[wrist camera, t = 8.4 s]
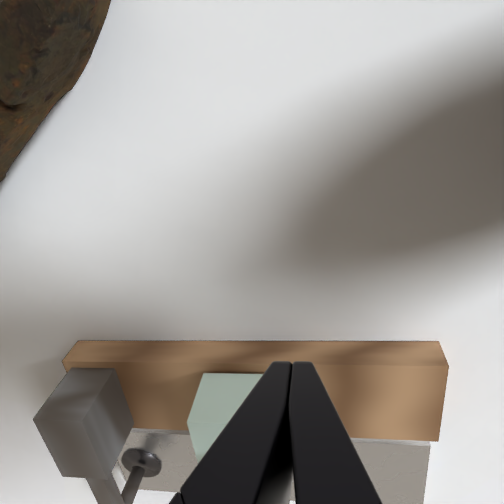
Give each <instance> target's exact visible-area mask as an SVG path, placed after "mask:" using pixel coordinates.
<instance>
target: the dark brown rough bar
mask: <svg viewBox="0 0 504 504" xmlns="http://www.w3.org/2000/svg"><path fill="white" fill-rule="evenodd" d="M110 2H111V0H0V182H1V181H2V180H3V179H4V178H5V176H6V172H7V171H8V169H9V168H10V166H11V164H12V163H13V162H14V160H15V159H16V157H17V156H18V155H19V153H20V152H21V150H22V149H23V147H24V146H25V145H26V143H27V142H28V141H29V139H30V138H31V137H32V135H33V134H34V132H35V131H36V129H37V127H38V126H39V125H40V123H41V122H42V121H43V120H44V118H45V117H46V116H47V114H48V113H49V111H50V110H51V108H52V107H53V106H54V105H55V103H56V102H57V101H58V100H59V99H60V98H61V97H62V96H63V95H64V94H65V93H66V92H68V91H69V90H71V89H72V88H73V87H74V85H75V84H76V82H77V80H78V79H79V77H80V75H81V74H82V72H83V70H84V68H85V66H86V64H87V62H88V61H89V59H90V56H91V54H92V51H93V49H94V46H95V44H96V42H97V39H98V37H99V34H100V31H101V29H102V26H103V24H104V21H105V18H106V15H107V12H108V9H109V5H110Z"/></svg>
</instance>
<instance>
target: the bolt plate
mask: <svg viewBox="0 0 504 504" xmlns="http://www.w3.org/2000/svg"><path fill="white" fill-rule="evenodd" d="M351 441H352V443H353V445H354V447H355V449H356V451H357V453H358V455H359V457H360V459H361V461H362V463H363V465H364V467H365V469H366V471H367V473H368V475H369V477H370V479H371V481H372V483H373V485H374V487H375V489H376V491H377V493H378V495H379V497H380V499H381V501H382V503H383V504H423V501H424V493H425V485H426V477H427V470H428V462H429V454H430V442H429V441H415V440H392V439H369V438H351ZM117 460H118V462H119V465H120V467H121V469H122V472H123V474H124V477H125V479H126V482H127V480H128V477H129V475H130V473H131V470H132V468H133V467H134V466H141V467H142V468H144V470H145V473H144V476H143V478H142V481H141V483H140V486H139V488H138V489H142V490H156V491H169V492H180V488H181V486H182V485H183V484H184V482H185V481H186V480H187V478H188V477H189V475H190V474H191V473H192V471H193V470H194V469H195V467H196V466H197V464H198V462H197V458H196V455H195V451H194V447H193V444H192V440H191V436H190V433H189V431H187V430H164V429H141V428H132V430H131V432H130V434H129V436H128V438H127V440H126V442H125V444H124V446H123V449H122V451H121V453H120V455H119V457H118V459H117ZM290 500H293V501H295V490H294V479H293V480H292V488H291V495H290Z"/></svg>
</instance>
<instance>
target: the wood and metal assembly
mask: <svg viewBox="0 0 504 504" xmlns="http://www.w3.org/2000/svg"><path fill="white" fill-rule="evenodd" d="M273 361H290V362H291V363H292V364H293V362H295V361H310V362H312V363H313V364H314V366H315V368H316V370H317V372H318V374H319V376H320V378H321V380H322V382H323V384H324V386H325V388H326V390H327V392H328V394H329V396H330V398H331V400H332V402H333V404H334V406H335V408H336V410H337V412H338V414H339V416H340V418H341V420H342V422H343V424H344V426H345V428H346V430H347V432H348V434H349V436H350V438H369V439H392V440H415V441H438V440H439V433H440V426H441V419H442V412H443V404H444V397H445V390H446V383H447V376H448V369H449V365H448V363H447V360H446V358H445V355H444V353H443V350H442V348H441V345H440V343H439V341H77V343H76V344H75V345H74V347H73V348H72V349H71V350H70V352H69V353H68V354H67V355H66V357H65V358H64V359H63V360H62V363H63V365H64V368H65V370H66V372H67V374H66V375H65V377H64V378H63V379H62V381H61V382H60V383H59V385H58V386H57V387H56V389H55V390H54V391H53V393H52V394H51V395H50V397H49V398H48V399H47V401H46V402H45V403H44V405H43V406H42V407H41V409H40V410H39V411H38V413H37V414H36V415H35V417H34V418H33V421H34V423H35V425H36V427H37V428H38V430H39V432H40V434H41V436H42V438H43V440H44V442H45V444H46V446H47V448H48V450H49V451H50V453H51V455H52V457H53V459H54V461H55V463H56V465H57V467H58V469H59V471H60V473H61V475H62V476H63V477H78V478H86V480H87V482H88V484H89V486H90V488H91V490H92V492H93V494H94V496H95V498H96V500H97V502H98V504H132V503H133V501H134V498H135V496H136V493H137V491H138V488H139V486H140V483H141V481H142V478H143V476H144V473H145V470H144V468H142V467H141V466H134V467H133V468H132V470H131V473H130V475H129V477H128V480H127V482H126V484H125V487H124V489H123V491H122V494H120V491H119V489H118V487H117V485H116V482H115V480H114V478H113V475H112V473H111V472H112V470H113V468H114V465H115V463H116V461H117V459H118V457H119V455H120V453H121V451H122V449H123V446H124V444H125V442H126V440H127V438H128V436H129V434H130V432H131V430H132V428H141V429H164V430H187V431H189V429H188V425H187V420H188V417H189V414H190V411H191V408H192V405H193V402H194V399H195V396H196V393H197V390H198V388H199V385H200V382H201V379H202V376H203V373H230V374H264V372H265V371H266V370H267V368H268V367H269V365H270V364H271V363H272V362H273Z"/></svg>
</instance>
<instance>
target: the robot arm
mask: <svg viewBox="0 0 504 504" xmlns="http://www.w3.org/2000/svg"><path fill="white" fill-rule="evenodd" d="M293 479H294V490H295V502H296V504H383V503H382V501H381V499H380V497H379V495H378V493H377V491H376V489H375V487H374V485H373V483H372V481H371V479H370V477H369V475H368V473H367V471H366V469H365V467H364V465H363V463H362V461H361V459H360V457H359V455H358V453H357V451H356V449H355V447H354V445H353V443H352V441H351V438H350V436H349V434H348V432H347V430H346V428H345V426H344V424H343V422H342V420H341V418H340V416H339V414H338V412H337V410H336V408H335V406H334V404H333V402H332V400H331V398H330V396H329V394H328V392H327V390H326V388H325V386H324V384H323V382H322V380H321V378H320V376H319V374H318V372H317V370H316V368H315V366H314V364H313V363H312V362H310V361H295V362H293V364H292V363H291V362H290V361H273V362H272V363H271V364H270V365H269V367H268V368H267V370H266V371H265V372H264V374H263V375H262V376H261V378H260V379H259V381H258V382H257V383H256V385H255V386H254V387H253V389H252V390H251V392H250V393H249V394H248V396H247V397H246V398H245V400H244V401H243V403H242V404H241V405H240V407H239V408H238V409H237V411H236V412H235V414H234V415H233V416H232V418H231V419H230V420H229V422H228V423H227V425H226V426H225V427H224V429H223V430H222V431H221V433H220V434H219V436H218V437H217V438H216V440H215V441H214V442H213V444H212V445H211V447H210V448H209V449H208V451H207V452H206V453H205V455H204V456H203V458H202V459H201V460H200V462H199V463H198V464H197V466H196V467H195V469H194V470H193V471H192V473H191V474H190V475H189V477H188V478H187V480H186V481H185V482H184V484H183V485H182V486H181V488H180V492H177V493H176V494H175V496H174V497H173V498H172V500H171V501H170V503H169V504H289V502H290V495H291V488H292V480H293Z"/></svg>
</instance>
